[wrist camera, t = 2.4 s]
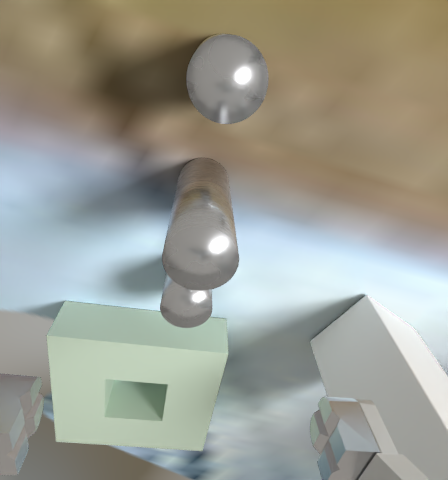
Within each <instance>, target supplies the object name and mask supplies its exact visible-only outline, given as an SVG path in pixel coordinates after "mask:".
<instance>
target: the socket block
mask: <svg viewBox="0 0 448 480" xmlns="http://www.w3.org/2000/svg"><path fill="white" fill-rule="evenodd" d="M47 347H48V357H49V369H50V380H51V391H52V401H53V412H54V423H55V434H56V441H57V442H70V443H85V444H101V445H116V446H131V447H147V448H162V449H178V450H193V451H202V450H203V447H204V443H205V439H206V436H207V432H208V428H209V424H210V421H211V417H212V413H213V410H214V406H215V402H216V398H217V395H218V391H219V387H220V384H221V380H222V376H223V372H224V369H225V365H226V361H227V358H228V354H229V353H228V337H227V320H226V319H223V318H214V317H209V319H208V320H207V321H206V322H205V323H203V324H201V325H199V326H197V327H192V328H181V327H177V326H174V325H172V324H170V323H169V322H167V321H166V320H165V319H164V317H163V316H162V314H161V312H160V311H151V310H142V309H133V308H125V307H116V306H107V305H98V304H89V303H80V302H71V301H65V302H64V304H63V305H62V307H61V309H60V311H59V313H58V315H57V317H56V319H55V320H54V322H53V324H52V326H51V328H50V330H49V332H48V334H47Z"/></svg>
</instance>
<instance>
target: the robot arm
mask: <svg viewBox="0 0 448 480" xmlns="http://www.w3.org/2000/svg"><path fill="white" fill-rule="evenodd" d="M41 386H42V382H41V377H32V376H21V375H10V374H0V475H18V473H19V471H20V468H21V466H22V463H23V461H24V459H25V456H26V454H27V452H28V449H29V446H28V438H29V437H30V436H31V435H33V434H34V433H35V432H36V430H37V427H38V425H39V423H40V420H41V415H42V412H43V405H44V398H43V395H42V394H41V393H40V392H39V391H40V389H41ZM318 405H319V408H320V410H318V411H316V412H315V413H314V414H313V416H312V418H311V423H310V434H311V440H312V444H313V447H314V448H315V449H316V450H317V451H318V452H319V453H320V456H319V458H318V461H317V462H318V466H319V470H320V473H321V477H322V480H429V479H428V478H427V477H426V476H425V475H424V474H423V473H422V472H421V471H420V470H419V469H418V468H417V467H416V466H415V465H414V464H413V463H412V462H410V461H409V460H408V459H407V458H406V457H405V456H404V455H403V454H398V452H397V450H396V448H395V446H394V444H393V442H392V439H391V437H390V435H389V433H388V431H387V429H386V427H385V425H384V423H383V420H382V418H381V416H380V414H379V412H378V410H377V408H376V406H375V404H374V403H373V402H372V401H371V400H364V399H353V398H337V397H323V398H321V400H320V402H319V403H318Z"/></svg>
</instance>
